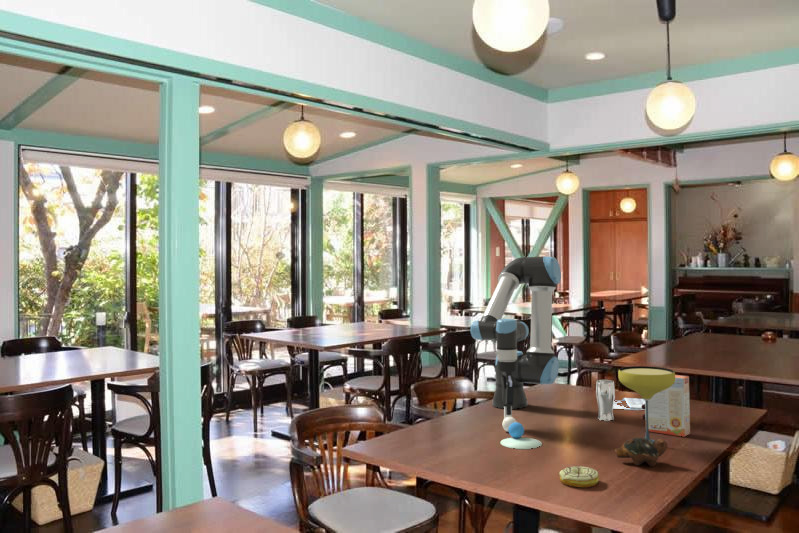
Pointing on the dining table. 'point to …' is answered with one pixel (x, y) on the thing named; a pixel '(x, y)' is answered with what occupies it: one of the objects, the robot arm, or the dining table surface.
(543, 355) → the robot arm
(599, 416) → the beer glass
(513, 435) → the blue object ball
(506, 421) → the white cue ball
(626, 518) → the dining table surface
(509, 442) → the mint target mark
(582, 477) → the decorated donut
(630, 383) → the cocktail glass
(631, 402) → the snack bag
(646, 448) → the decorative turtle
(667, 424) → the cracker box
